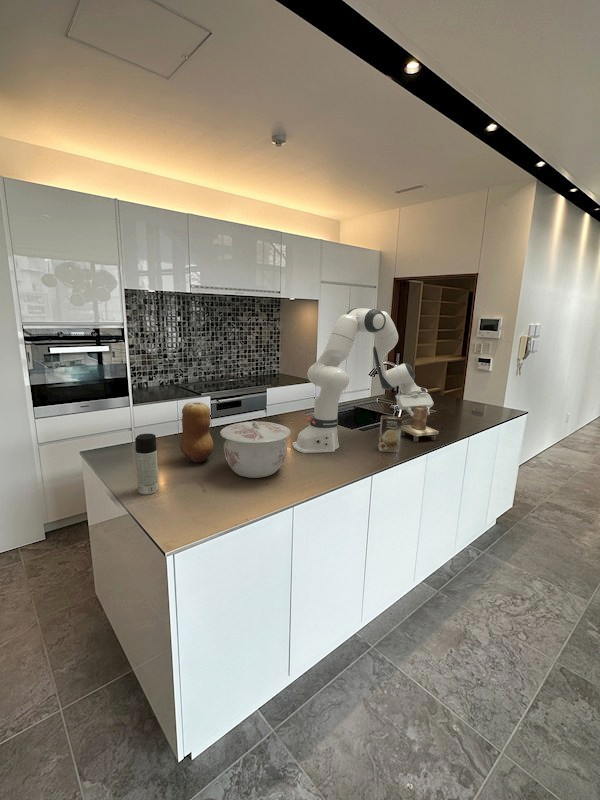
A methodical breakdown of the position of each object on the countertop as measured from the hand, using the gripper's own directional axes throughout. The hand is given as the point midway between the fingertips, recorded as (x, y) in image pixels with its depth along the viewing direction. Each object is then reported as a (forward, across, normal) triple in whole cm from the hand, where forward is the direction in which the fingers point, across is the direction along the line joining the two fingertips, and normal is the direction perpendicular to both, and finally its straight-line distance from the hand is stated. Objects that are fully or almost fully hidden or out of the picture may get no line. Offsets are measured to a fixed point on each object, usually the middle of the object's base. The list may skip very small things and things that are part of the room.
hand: (420, 415), depth 200 cm
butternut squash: (+9, -113, +9) cm, 114 cm away
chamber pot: (+21, -92, -3) cm, 94 cm away
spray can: (+26, -132, -8) cm, 135 cm away
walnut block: (+5, 0, +6) cm, 7 cm away
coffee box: (+17, -26, +1) cm, 31 cm away
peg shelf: (+8, 0, +9) cm, 12 cm away
